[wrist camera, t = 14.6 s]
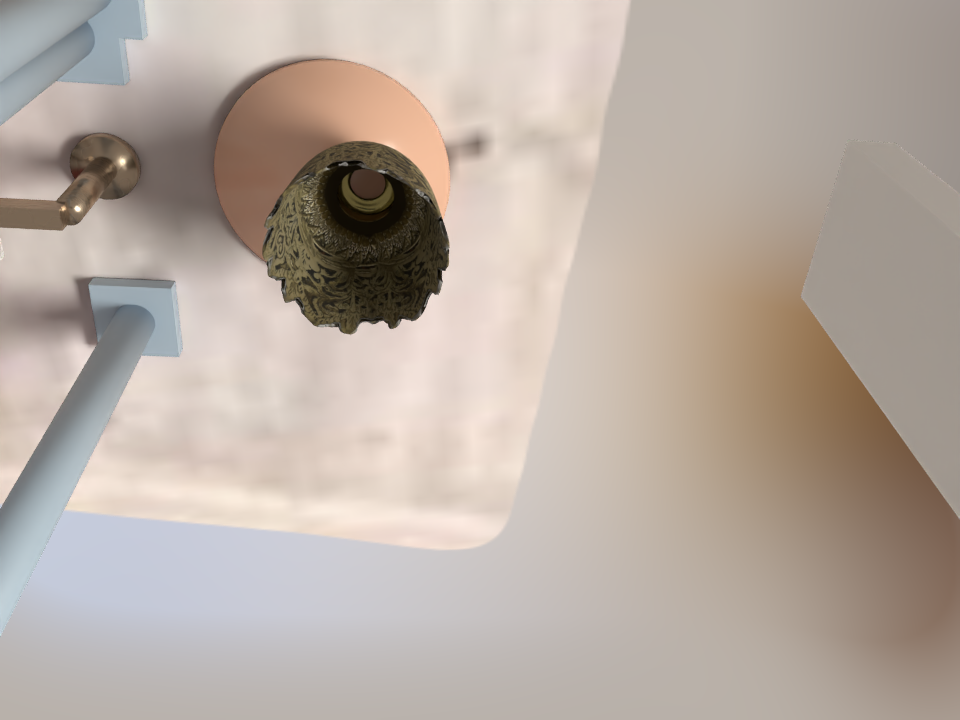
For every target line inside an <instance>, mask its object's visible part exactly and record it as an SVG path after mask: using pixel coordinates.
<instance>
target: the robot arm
mask: <svg viewBox="0 0 960 720" xmlns="http://www.w3.org/2000/svg"><path fill="white" fill-rule="evenodd" d="M3 257H4V253H3V249H2V244H1V239H0V260H1V259H2V258H3ZM801 297H802V299H803V300H804V301H805V303H806V304H807V306H808V307H809V309H810V310H811V311H812V313H813V314H814V316H815V317H816V318H817V320H818V321H819V323H820V324H821V325H822V327H823V328H824V329H825V331H826V332H827V334H828V335H829V337H830V338H831V339H832V341H833V342H834V344H835V345H836V346H837V348H838V349H839V351H840V352H841V353H842V355H843V356H844V358H845V359H846V361H848V363H849V365H850V366H851V368H852V369H853V370H854V372H855V373H856V375H857V376H858V377H859V379H860V380H861V381H862V383H863V384H864V386H865V387H866V389H867V390H868V391H869V393H870V394H871V396H872V397H873V398H874V400H875V401H876V403H877V404H878V405H879V407H880V408H881V410H882V411H883V412H884V414H885V415H886V417H887V418H888V419H889V421H890V422H891V424H892V425H893V426H894V428H895V429H896V431H897V432H898V434H899V435H900V436H901V438H902V439H903V441H904V442H905V443H906V445H907V446H908V448H909V449H910V450H911V452H912V453H913V455H914V456H915V457H916V459H917V460H918V462H919V463H920V464H921V466H922V467H923V469H924V470H925V471H926V473H927V474H928V476H929V477H930V478H931V480H932V481H933V483H934V484H935V485H936V487H937V488H938V489H939V491H940V492H941V494H942V495H943V497H944V498H945V499H946V501H947V502H948V504H949V505H950V507H951V508H952V509H953V511H954V512H955V514H956V515H957V516H958V518H959V519H960V194H959V193H958V192H957V191H955V190H954V189H953V188H952V187H950V186H949V185H948V184H947V183H945V182H944V181H943V180H942V179H940V178H939V177H938V176H937V175H935V174H934V173H933V172H931V171H930V170H929V169H928V168H926V167H925V166H924V165H922V164H921V163H920V162H919V161H918V160H916V159H915V158H914V157H912V156H911V155H910V154H909V153H907V152H906V151H905V150H904V149H902V148H901V147H900V146H899V145H897V144H896V143H888V142H873V141H857V140H848V141H847V145H846V148H845V152H844V155H843V158H842V161H841V165H840V168H839V171H838V175H837V178H836V181H835V185H834V188H833V191H832V194H831V198H830V202H829V204H828V208H827V211H826V214H825V218H824V221H823V224H822V228H821V231H820V234H819V238H818V241H817V244H816V247H815V251H814V254H813V257H812V261H811V264H810V267H809V271H808V274H807V277H806V281H805V284H804V287H803V291H802V294H801Z"/></svg>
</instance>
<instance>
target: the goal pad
mask: <svg viewBox="0 0 960 720" xmlns="http://www.w3.org/2000/svg"><path fill="white" fill-rule="evenodd" d="M351 141H369V142H375V143H380V144H383V145H386V146H389V147H391V148H393V149H395V150H397V151H399V152H400V153H402V154H403V155H405V156H406V157H407V158H409V159H410V160H411V161H412V162H413V163H414V164H415V165H416V166H417V167H418V168H419V169H420V171H421V172H422V173H423V175H424V176H425V178H426V179H427V181H428V182H429V184H430V186H431V188H432V190H433V193H434V195H435V198H436V201H437V203H438V206H439V209H440V213H441V216H442V219H443V217H444V215H445V211H446V208H447V204H448V198H449V191H450V169H449V162H448V155H447V151H446V148H445V144H444V141H443V138H442V136H441V134H440V132H439V129H438V127H437V125H436V123H435V122H434V120H433V119H432V117H431V115H430V114H429V112H428V111H427V110H426V108H425V107H424V106H423V105H422V103H421V102H420V101H419V100H418V99H417V98H416V97H415V96H414V95H413V94H412V93H411V92H410V91H409V90H408V89H406V88H405V87H404V86H402V85H401V84H400V83H398V82H397V81H396V80H394V79H392V78H391V77H389V76H387V75H385V74H383V73H382V72H380V71H377V70H375V69H372V68H370V67H367V66H365V65H361V64H357V63H353V62H350V61H342V60H334V59H316V60H309V61H301V62H298V63H294V64H290V65H287V66H284V67H282V68H280V69H277V70H275V71H273V72H271V73H269V74H267V75H266V76H264V77H263V78H261V79H259V80H258V81H257V82H256V83H254V84H253V85H252V86H251V87H250V88H248V89H247V90H246V91H245V92H244V94H243V95H242V96H241V97H240V98H239V99H238V100H237V101H236V103H235V105H234V106H233V108H232V109H231V111H230V112H229V114H228V116H227V117H226V119H225V121H224V124H223V126H222V128H221V130H220V133H219V136H218V140H217V143H216V148H215V156H214V178H215V184H216V190H217V194H218V197H219V201H220V204H221V206H222V209H223V211H224V213H225V215H226V218H227V219H228V221H229V223H230V224H231V226H232V228H233V229H234V231H235V232H236V233H237V235H238V236H239V237H240V238H241V240H242V241H243V242H244V243H245V244H246V245H247V246H248V247H249V248H250V249H251V250H252V251H253V252H254V253H255V254H256V255H258V256H259V257H260V258H261V259H263V260H264V258H263V255H262V248H263V242H264V239H265V236H266V233H267V231H268V230H267V228H265V227H264V224H265V221H266V219H267V217H268V215H269V214H270V213H271V211H272V210H273V208H274V206H275V203H276V201H277V200H278V198H279V197H280V196H281V194H282V193H283V192H284V190H285V189H286V188H287V186H288V185H289V184H290V182H291V181H292V180H293V178H294V177H295V176H296V174H297V173H298V172H299V171H300V170H301V168H302V167H303V166H304V165H305V164H306V163H307V162H308V161H310V160H311V159H312V158H313V157H315V156H316V155H317V154H319V153H320V152H322V151H324V150H326V149H328V148H330V147H332V146H335V145H338V144H341V143H345V142H351ZM350 184H351V188H352V190H353V191H354V193H355V194H356V195H358V196H359V197H361V198H364V199H373V198H376V197H378V196H379V195H381V193H382V192H383V191H384V188H385V179H384V176H383V175H381V174H380V173H378V172H376V171H373V170H368V169H361V170H356V171H355V172H354V173H353V174H352V176H351V180H350ZM264 261H265V262H267V260H264Z"/></svg>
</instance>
